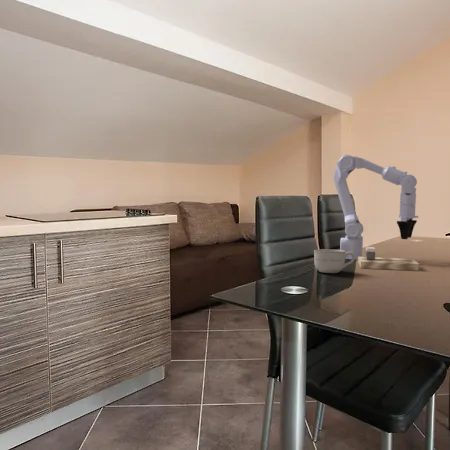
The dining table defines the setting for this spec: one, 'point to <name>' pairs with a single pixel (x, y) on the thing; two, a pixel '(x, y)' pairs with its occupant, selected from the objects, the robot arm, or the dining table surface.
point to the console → (388, 263)
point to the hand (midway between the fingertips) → (406, 238)
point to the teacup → (331, 260)
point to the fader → (370, 253)
